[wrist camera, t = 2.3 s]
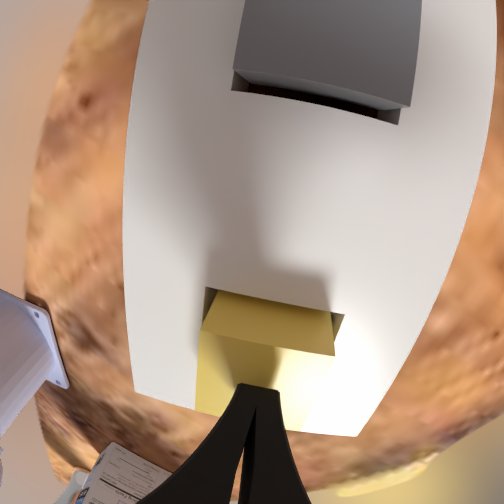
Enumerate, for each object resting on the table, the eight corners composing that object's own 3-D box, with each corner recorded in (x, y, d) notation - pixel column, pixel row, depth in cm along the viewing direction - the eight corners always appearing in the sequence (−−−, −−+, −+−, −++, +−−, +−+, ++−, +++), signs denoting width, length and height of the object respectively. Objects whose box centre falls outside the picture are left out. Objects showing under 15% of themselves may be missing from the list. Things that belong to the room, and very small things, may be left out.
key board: (154, 357, 17) (135, 391, 15) (198, -54, 8) (176, -84, 6) (352, 397, 17) (356, 436, 14) (462, 0, 8) (494, -19, 5)
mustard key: (211, 363, 14) (194, 410, 11) (221, 284, 12) (200, 329, 10) (302, 381, 14) (300, 431, 11) (329, 306, 12) (335, 356, 9)
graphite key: (250, 83, 9) (232, 68, 7) (270, -24, 8) (259, -66, 5) (380, 110, 9) (410, 107, 6) (394, 2, 7) (422, -31, 5)
